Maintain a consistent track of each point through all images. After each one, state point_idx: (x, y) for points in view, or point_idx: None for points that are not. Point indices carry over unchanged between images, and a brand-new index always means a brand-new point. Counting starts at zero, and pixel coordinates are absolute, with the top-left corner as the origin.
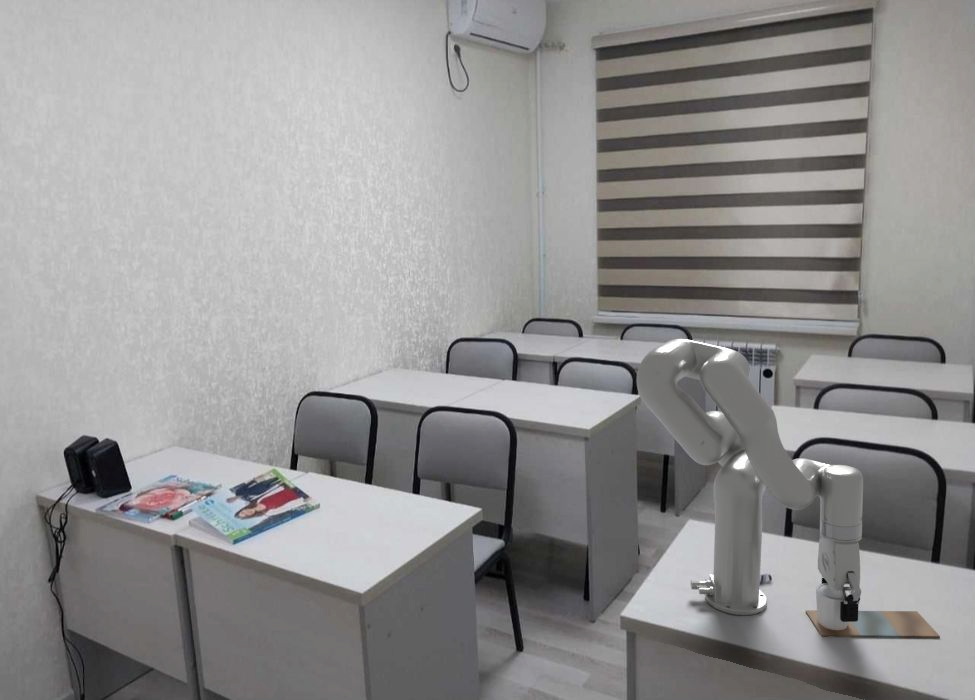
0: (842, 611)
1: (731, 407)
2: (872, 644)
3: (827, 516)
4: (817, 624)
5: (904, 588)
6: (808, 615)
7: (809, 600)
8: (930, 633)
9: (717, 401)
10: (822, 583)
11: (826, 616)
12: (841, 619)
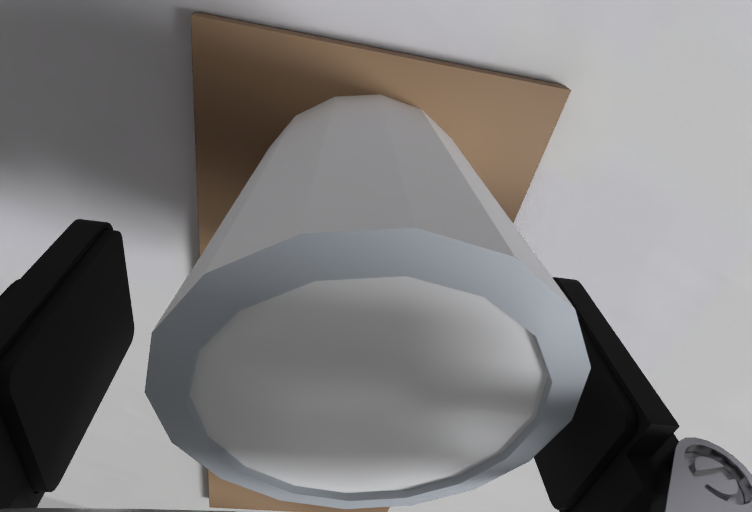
0: (23, 293)
1: None
2: (129, 289)
3: None
4: (355, 71)
5: None
6: (505, 76)
7: (676, 197)
8: (227, 494)
9: None
10: (619, 371)
11: (275, 150)
12: (72, 228)
